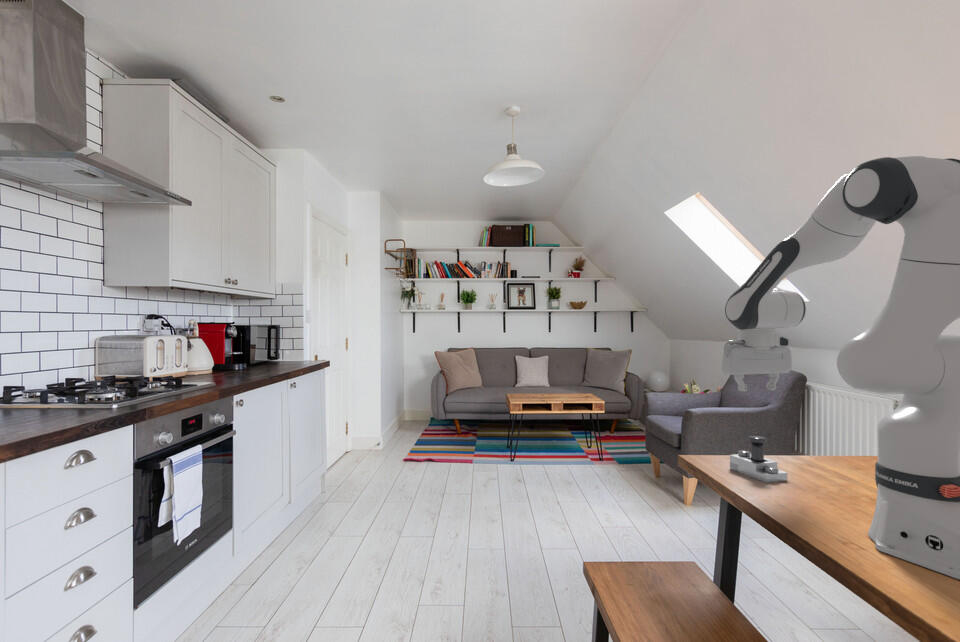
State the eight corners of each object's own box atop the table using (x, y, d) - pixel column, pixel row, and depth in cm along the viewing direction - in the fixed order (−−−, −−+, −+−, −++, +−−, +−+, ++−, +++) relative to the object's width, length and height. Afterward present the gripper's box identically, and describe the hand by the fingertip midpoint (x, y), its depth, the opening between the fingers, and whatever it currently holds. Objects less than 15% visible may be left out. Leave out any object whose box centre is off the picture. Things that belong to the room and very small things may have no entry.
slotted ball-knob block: (787, 480, 121) (787, 461, 121) (765, 482, 119) (765, 463, 119) (750, 467, 133) (750, 449, 133) (730, 469, 131) (729, 451, 131)
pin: (771, 476, 124) (770, 439, 125) (757, 477, 123) (757, 440, 124) (757, 471, 129) (757, 435, 129) (744, 472, 128) (744, 436, 128)
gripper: (733, 340, 121) (734, 393, 121) (795, 340, 126) (796, 390, 126) (715, 340, 127) (716, 390, 127) (776, 339, 132) (776, 387, 132)
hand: (756, 390), depth 126 cm, fingers open, 8 cm apart
